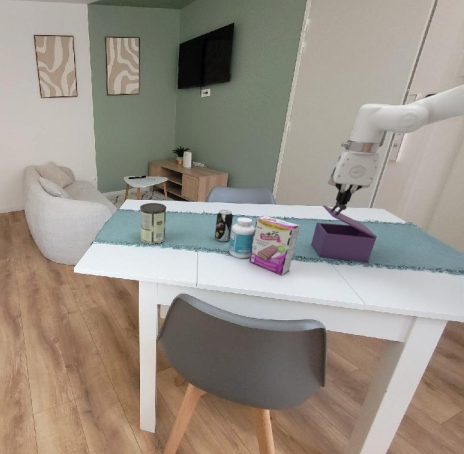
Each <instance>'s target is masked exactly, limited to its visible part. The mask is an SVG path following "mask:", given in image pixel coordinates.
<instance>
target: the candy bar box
mask: <svg viewBox="0 0 464 454" xmlns="http://www.w3.org/2000/svg"><path fill="white" fill-rule="evenodd" d="M300 226H301V225H300V224H297V223H293V222H290V221H286V220H283V219H279V218H276V217H272V216H268V215H266V214H264V215H262V216H259V217H257V218H256V221H255V226H254V228H255V231H254V237H253V243H252V249H251V254H250V257H249V260H248V262H249V263H251V264H252V265H253V264H254V265H256V266H258V267H261V268H263V269H266V270H268V271H270V272H272V273H275V274H278V275H280V276H283V275H284V274H286V273H287V272H289V271H290V268H291V263H292V259H293V255H294V250H295V247H296V243H297V238H298V235H299V230H300Z"/></svg>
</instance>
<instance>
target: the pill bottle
mask: <svg viewBox="0 0 464 454" xmlns="http://www.w3.org/2000/svg"><path fill="white" fill-rule="evenodd" d="M254 231H255V226H254V225H253V220H252V218H249V217H244V216H243V217H237V219H236V223H234V224H232V227H231V235H230V239H229V248H228V252H229V254H230V255H231V256H232V257H235V258H236V259H237V258H238V259H247V258H250V254H251V249H252V243H253V237H254Z"/></svg>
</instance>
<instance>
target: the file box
mask: <svg viewBox="0 0 464 454" xmlns="http://www.w3.org/2000/svg"><path fill="white" fill-rule="evenodd" d="M376 240H377V238H374V237H372V236H370V235H368V234H366V233H364V232H362V231H360V230H358V229H356V228H354V227H352V226H350V225H348V224H339V223H329V222H328V223H327V222H326V223H325V222H316V224H315V227H314V230H313V235H312V239H311V246H312V248H313V249H314V251H315V253H316V254H317V256H318V257H319V258H322V259H323V258H324V259H333V260H343V261H351V262H359V263H360V262H361V263H368V262H369V260H370V257H371V255H372V251H373V249H374V245H375V243H376Z"/></svg>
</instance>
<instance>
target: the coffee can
mask: <svg viewBox="0 0 464 454" xmlns="http://www.w3.org/2000/svg"><path fill="white" fill-rule="evenodd" d="M139 211H140V212H139V213H140V214H139V215H140V218H139V219H140V241H141V242H142V243H145V244H148V243H149V244H148V245H156V244H155V243H158V244H161V242H162V243H164V242H165V240H166V217H167V206H166V205H165V204H163V203H159V202H148V203H144V204H141V205H140V206H139ZM163 241H164V242H163Z"/></svg>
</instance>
